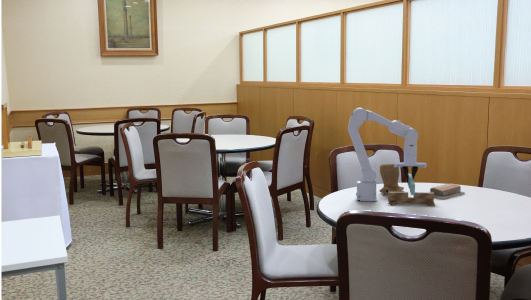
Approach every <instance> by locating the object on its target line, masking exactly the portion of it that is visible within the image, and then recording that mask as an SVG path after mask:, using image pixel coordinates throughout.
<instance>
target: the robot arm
mask: <svg viewBox="0 0 531 300" xmlns="http://www.w3.org/2000/svg"><path fill="white" fill-rule="evenodd" d="M365 121H368V122H369V121H373V122H376V123H378V124H380V125H382V126H385V127H387V128H388V131H389V132H390V133H393V134H395V135H396V136H399V137H401V138H404V143H403V161H402V162H394V163H393V164H394V167H399V168H402V170H403V172H404V177H405V180H406V184H408V174H409V171H410V169H411V175H412V177H413V180H415V176H416V174H417V173H418V171H419V168H423V169H424V168H425V169H426V168H427V163H426V162H418V161H417V160H418V159H417V157H418V144H417V143H418V139H419V134H418V131H417V130H416V129H414V128H413V127H411V126H410V125H409V124H408V125H406V124H404V123H402V121H401V120H399V119H398V120H397V119H394V120H390V119H388V118H386V117H384V116H382V115H380V114H378V113H376V112H374V111H372V110H368V109H364V108H363V107H357V108H355V109H354V110H353V111H352V112H351V114H350V117H349V121H348V124H347V125H348V126H347V132H348V135H349V136H350V139H351V143H352V145H353V147H354V150H355V154H356V157H357V159H358V161H359V162H358V163H359V164H360V167H361V175H362V178H361V179H360V180H357V181H356V193H355V197H356V201H357V200H360V201H359V202H378V197H377V179H376V178H377V173H376V171H375V168H374V167H373V166H372V165H371V162H370V160H369V156H368V154H367V151H366V149H365V145H364V143H363V140H362V137H361V135H360V131H359V129H360V127H361V126H362V124H363V123H364V122H365ZM409 168H410V169H409Z"/></svg>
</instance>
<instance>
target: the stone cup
mask: <svg viewBox="0 0 531 300" xmlns="http://www.w3.org/2000/svg"><path fill="white" fill-rule="evenodd" d="M379 173H380V174H379V175H380V176H381V177H380V178H381V180H382V184H383V186H382V188H381V189H379V192H380V193H382V194H383V195H385V194H386V196H388V192H403V191H404V190H405V187H403V186H400V185H399V179H400V178H399V177H400V167H394V163H383V164H380V165H379Z"/></svg>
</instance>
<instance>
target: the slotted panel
mask: <svg viewBox="0 0 531 300" xmlns="http://www.w3.org/2000/svg"><path fill="white" fill-rule="evenodd" d="M414 180H415V179H414ZM414 180H413V177H412V173H408V183H407V186H408V189H409V193H410V195H411V196H414V195H415V192H416V183H415V181H414Z"/></svg>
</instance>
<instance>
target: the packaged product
mask: <svg viewBox="0 0 531 300" xmlns="http://www.w3.org/2000/svg"><path fill="white" fill-rule="evenodd" d="M461 190H462V189H461V185H460V184H455V183H446V184H442V185H437V186H433V187H431V188H430V189H429V192H427V193H434V199H439V200H446V199H449V198H452V197H454V198H455V197H457V195H458V196H460V195H464V194H465V191H461Z"/></svg>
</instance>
